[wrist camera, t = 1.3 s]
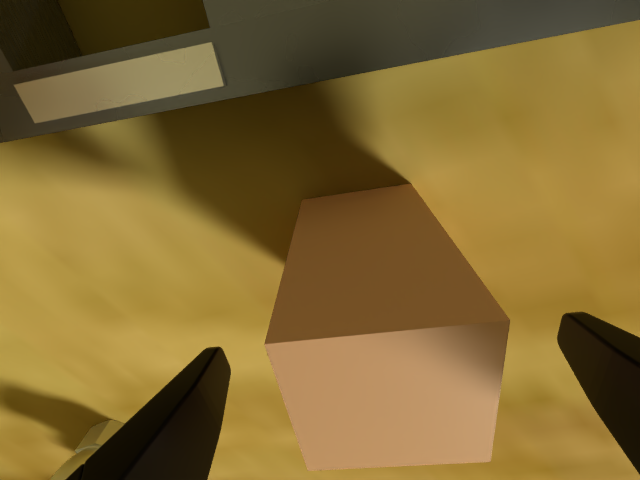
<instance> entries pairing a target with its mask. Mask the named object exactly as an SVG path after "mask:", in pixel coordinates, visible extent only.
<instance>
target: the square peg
mask: <svg viewBox="0 0 640 480" xmlns="http://www.w3.org/2000/svg"><path fill="white" fill-rule="evenodd" d="M509 325H510V319H509V318H508V317H507V315H506V314H505V313H504V311H503V310H502V308H501V307H500V306H499V304H498V303H497V301H496V300H495V299H494V297H493V296H492V295H491V293H490V292H489V290H488V289H487V288H486V286H485V285H484V284H483V282H482V281H481V279H480V278H479V277H478V275H477V274H476V272H475V271H474V270H473V268H472V267H471V266H470V264H469V263H468V261H467V260H466V259H465V257H464V256H463V255H462V253H461V252H460V250H459V249H458V248H457V246H456V245H455V244H454V242H453V241H452V239H451V238H450V237H449V235H448V234H447V232H446V231H445V230H444V228H443V227H442V226H441V224H440V223H439V221H438V220H437V219H436V217H435V216H434V215H433V213H432V212H431V210H430V209H429V208H428V206H427V205H426V204H425V202H424V201H423V199H422V198H421V197H420V195H419V194H418V192H417V191H416V190H415V188H414V187H413V186H412V184H411V183H410V184H404V185H397V186H390V187H384V188H377V189H370V190H364V191H357V192H350V193H344V194H337V195H330V196H324V197H317V198H310V199H304V200H302V202H301V206H300V209H299V213H298V217H297V221H296V225H295V229H294V232H293V236H292V240H291V244H290V248H289V252H288V255H287V259H286V263H285V267H284V271H283V275H282V278H281V282H280V286H279V290H278V294H277V298H276V302H275V305H274V309H273V313H272V317H271V321H270V325H269V328H268V332H267V336H266V340H265V344H264V345H265V348H266V350H267V353H268V356H269V359H270V362H271V365H272V368H273V371H274V374H275V377H276V379H277V382H278V385H279V388H280V391H281V394H282V397H283V400H284V403H285V406H286V408H287V411H288V414H289V417H290V420H291V423H292V426H293V429H294V432H295V435H296V437H297V440H298V443H299V446H300V449H301V452H302V455H303V458H304V461H305V464H306V466H307V469H308V471H312V470H333V469H353V468H373V467H394V466H414V465H434V464H454V463H475V462H490V461H491V454H492V447H493V440H494V432H495V425H496V418H497V411H498V404H499V396H500V389H501V382H502V375H503V368H504V361H505V353H506V346H507V339H508V332H509Z"/></svg>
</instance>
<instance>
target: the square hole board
mask: <svg viewBox="0 0 640 480" xmlns="http://www.w3.org/2000/svg"><path fill="white" fill-rule="evenodd" d="M203 3H204V7H205V11H206V14H207V18H208V22H209V25H210V28H207V29H203V30H198V31H194V32H189V33H185V34H180V35H176V36H171V37H167V38H162V39H158V40H153V41H149V42H144V43H140V44H135V45H131V46H126V47H122V48H117V49H113V50H108V51H104V52H99V53H95V54H90V55H86V56H82V55H81V53H80V51H79V48H78V46H77V44H76V42H75V40H74V37H73V35H72V33H71V31H70V28H69V26H68V24H67V22H66V19H65V17H64V15H63V13H62V11H61V8H60V6H59V4H58V2H57V0H0V143H2V142H8V141H13V140H18V139H23V138H28V137H33V136H39V135H44V134H49V133H54V132H59V131H65V130H70V129H75V128H80V127H85V126H91V125H96V124H101V123H106V122H111V121H117V120H122V119H127V118H132V117H137V116H142V115H148V114H153V113H158V112H163V111H168V110H174V109H179V108H184V107H189V106H194V105H200V104H205V103H210V102H215V101H220V100H225V99H231V98H236V97H241V96H246V95H251V94H257V93H262V92H267V91H272V90H277V89H283V88H288V87H293V86H298V85H303V84H308V83H314V82H319V81H324V80H329V79H334V78H340V77H345V76H350V75H355V74H360V73H366V72H371V71H376V70H381V69H386V68H392V67H397V66H402V65H407V64H412V63H417V62H423V61H428V60H433V59H438V58H443V57H449V56H454V55H459V54H464V53H469V52H475V51H480V50H485V49H490V48H495V47H500V46H506V45H511V44H516V43H521V42H526V41H532V40H537V39H542V38H547V37H552V36H558V35H563V34H568V33H573V32H578V31H583V30H589V29H594V28H599V27H604V26H609V25H615V24H620V23H625V22H630V21H635V20H640V0H203Z"/></svg>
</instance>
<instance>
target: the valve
mask: <svg viewBox="0 0 640 480" xmlns="http://www.w3.org/2000/svg"><path fill="white" fill-rule="evenodd" d="M123 425H124V424H123V423H120V422H118V421H115V420H107V421H105V422H102V423H100V424H97V425H95V426H92V427H91V428H90V430H89V431H88V432H87V434H86V435H85V437H84V438H83V440H82V441H81V443H80V444H79V445H78V447H77V448H76V450H75V452H76V453H77V454H75V455H74V456H72V457H71V458H70V459H69V460H67V461H66V462H65V463H64V464H63V465H62V466H61V467H60V468H59V469H58V470H57V471H56V473H55V474H54V475H53V476H52V478H51V479H50V480H65V479H66V478H67V477H69V476H70V475H71V474H72V473H73V472H74V471H75V470H76V469H77V468H78V467H79V466H80V465H81V464H85V461H86V460H87V459H88V458H89V457H90V456H91V455H92V454H93V453H94V452H95V451H96V450H98V449H99V448H100V447H101V446H102V445H103V444H104V443H105V442H106V441H107V440H108V439H109V438H110V437H111V436H112V435H114V434H115V433H116V432H117V431H118V430H119V429H120V428H121V427H122V426H123Z"/></svg>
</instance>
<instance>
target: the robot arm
mask: <svg viewBox="0 0 640 480" xmlns="http://www.w3.org/2000/svg"><path fill="white" fill-rule="evenodd" d="M557 341H558V345H559V347H560V349H561V351H562V353H563V354H564V356H565V358H566V360H567V362H568V363H569V365H570V367H571V369H572V371H573V372H574V374H575V376H576V378H577V379H578V381H579V383H580V385H581V387H582V388H583V390H584V392H585V394H586V396H587V397H588V399H589V401H590V402H591V404H592V406H593V407H594V409H595V410H596V412H597V413H598V415H599V416H600V418H601V419H602V421H603V422H604V424H605V425H606V427H607V428H608V429H609V431H610V432H611V434H612V435H613V437H614V438H615V440H616V441H617V442H618V444H619V445H620V447H621V448H622V450H623V451H624V453H625V454H626V456H627V457H628V458H629V460H630V461H631V463H632V464H633V466H634V467H635V469H636V470H637V471H638V473H639V474H640V337H637V336H635V335H633V334H631V333H629V332H627V331H624V330H622V329H620V328H618V327H616V326H614V325H611V324H609V323H607V322H605V321H603V320H601V319H598V318H596V317H594V316H592V315H590V314H587V313H585V312H572V313H566V314H564V315H563V316H562V319H561V323H560V327H559V332H558V336H557ZM230 375H231V369H230V365H229V363H228V361H227V358H226V356H225V354H224V351H223V349H222V348H221V347H210V348H206V349H205V350H203V351H202V352H201V353H200V354H199V355H198V356H197V357H196V358H195V359H194V360H193V361H192V362H190V363H189V364H188V365H187V366H186V367H185V368H184V369H183V370H182V371H181V372H180V373H179V374H178V375H177V376H176V377H174V378H173V379H172V380H171V381H170V382H169V383H168V384H167V385H166V386H165V387H164V388H163V389H162V390H161V391H159V392H158V393H157V394H156V395H155V396H154V397H153V398H152V399H151V400H150V401H149V402H148V403H147V404H146V405H145V406H143V407H142V408H141V409H140V410H139V411H138V412H137V413H136V414H135V415H134V416H133V417H132V418H131V419H130V420H129V421H127V422H126V423H125V424H124V425H123V426H122V427H121V428H120V429H119V430H118V431H117V432H116V433H115V434H114V435H112V436H111V437H110V438H109V439H108V440H107V441H106V442H105V443H104V444H103V445H102V446H101V447H100V448H99V449H98V450H96V451H95V452H94V453H93V454H92V455H91V456H90V457H89V458H88V459H87V460H86V461H85V464H81V465H80V466H79V467H78V468H77V469H76V470H75V471H74V472H73V473H72V474H71V475H70V476H69V477H67V478H66V479H65V480H207V479H208V475H209V472H210V468H211V464H212V461H213V457H214V453H215V450H216V446H217V443H218V439H219V435H220V431H221V426H222V421H223V415H224V410H225V404H226V398H227V392H228V387H229V381H230Z"/></svg>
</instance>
